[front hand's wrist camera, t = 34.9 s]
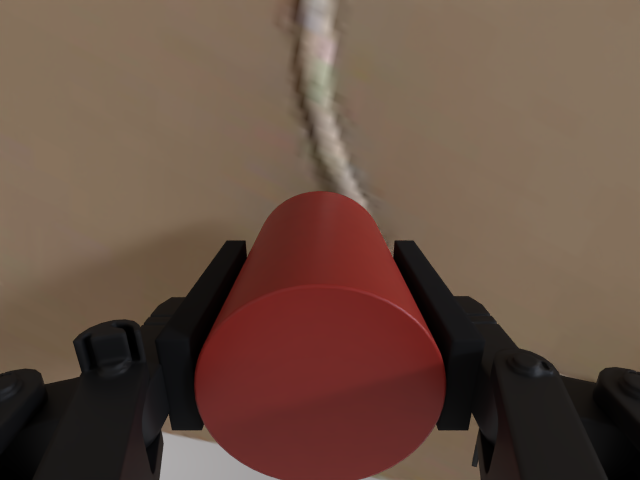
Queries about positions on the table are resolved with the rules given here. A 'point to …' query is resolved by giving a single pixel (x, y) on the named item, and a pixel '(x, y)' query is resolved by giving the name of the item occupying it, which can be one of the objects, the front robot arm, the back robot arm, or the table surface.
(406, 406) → the cylinder
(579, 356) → the table surface
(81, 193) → the table surface
